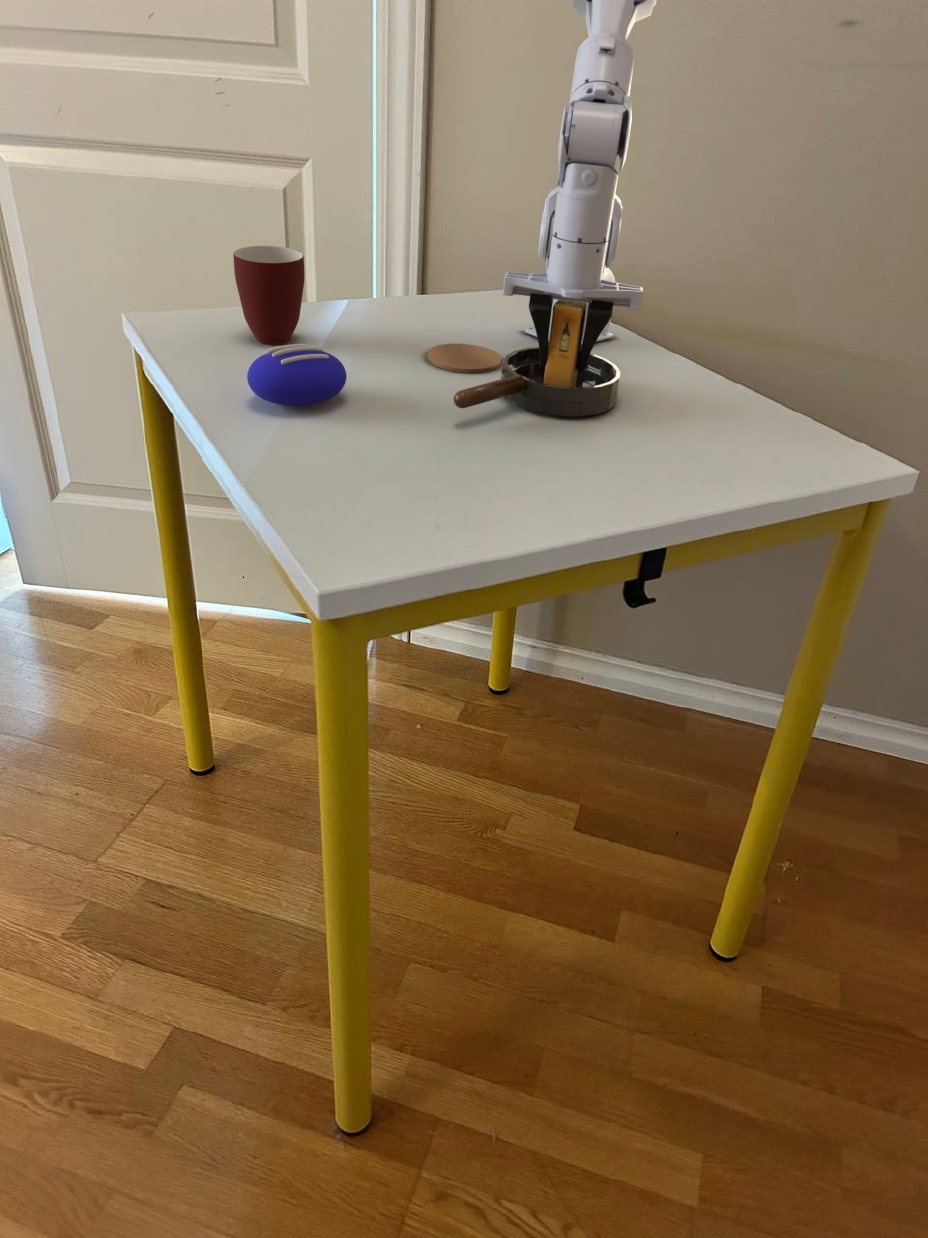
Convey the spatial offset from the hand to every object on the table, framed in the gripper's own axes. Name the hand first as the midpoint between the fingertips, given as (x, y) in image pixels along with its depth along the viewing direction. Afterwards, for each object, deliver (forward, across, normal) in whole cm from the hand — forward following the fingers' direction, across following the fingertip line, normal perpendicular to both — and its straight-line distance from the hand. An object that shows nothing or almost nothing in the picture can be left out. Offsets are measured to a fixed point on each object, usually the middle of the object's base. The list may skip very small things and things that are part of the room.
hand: (561, 367), depth 98 cm
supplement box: (+3, 0, 0) cm, 3 cm away
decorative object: (+4, -28, -10) cm, 29 cm away
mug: (+4, -36, +9) cm, 37 cm away
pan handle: (+1, -7, -8) cm, 11 cm away
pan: (+3, 0, 0) cm, 3 cm away
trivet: (+3, -12, +8) cm, 15 cm away
